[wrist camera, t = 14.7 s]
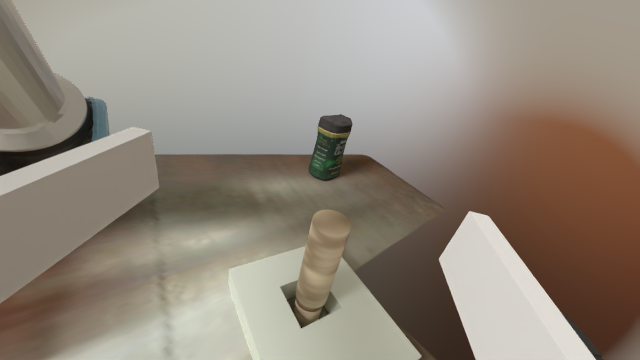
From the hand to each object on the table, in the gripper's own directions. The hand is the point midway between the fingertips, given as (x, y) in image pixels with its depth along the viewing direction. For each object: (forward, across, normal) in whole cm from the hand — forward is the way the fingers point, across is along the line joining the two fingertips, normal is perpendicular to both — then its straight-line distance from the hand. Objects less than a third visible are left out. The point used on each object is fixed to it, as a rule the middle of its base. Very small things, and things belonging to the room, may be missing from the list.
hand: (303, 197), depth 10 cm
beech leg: (+14, +3, -30) cm, 33 cm away
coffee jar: (+60, 0, -31) cm, 67 cm away
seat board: (+12, +4, -30) cm, 33 cm away
